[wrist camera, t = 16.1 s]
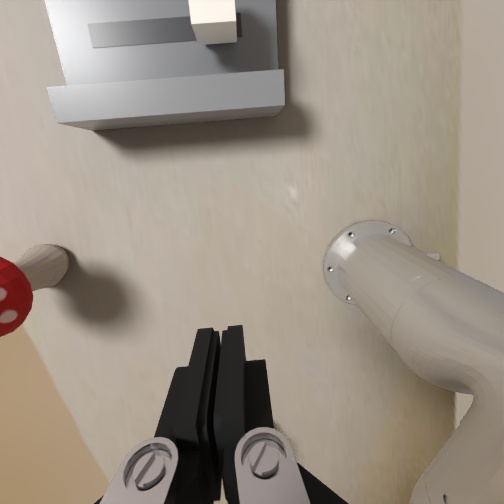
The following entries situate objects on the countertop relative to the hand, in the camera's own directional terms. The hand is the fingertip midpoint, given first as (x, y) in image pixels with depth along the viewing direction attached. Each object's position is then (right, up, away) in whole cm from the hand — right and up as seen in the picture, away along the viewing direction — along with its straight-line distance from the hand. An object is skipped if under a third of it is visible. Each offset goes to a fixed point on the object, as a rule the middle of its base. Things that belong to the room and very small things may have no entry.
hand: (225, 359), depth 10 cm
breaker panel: (-8, +27, +19) cm, 34 cm away
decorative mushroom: (-27, +3, +27) cm, 38 cm away
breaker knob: (-2, +26, +16) cm, 31 cm away
